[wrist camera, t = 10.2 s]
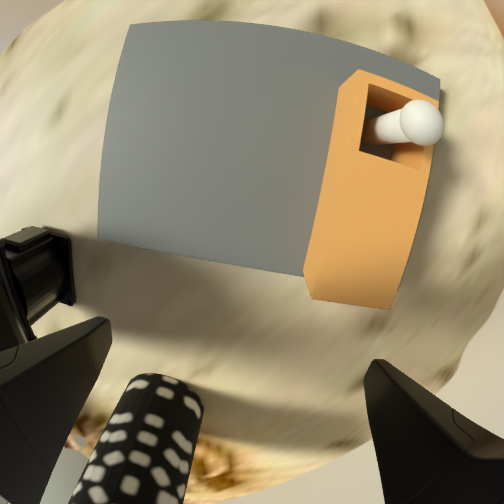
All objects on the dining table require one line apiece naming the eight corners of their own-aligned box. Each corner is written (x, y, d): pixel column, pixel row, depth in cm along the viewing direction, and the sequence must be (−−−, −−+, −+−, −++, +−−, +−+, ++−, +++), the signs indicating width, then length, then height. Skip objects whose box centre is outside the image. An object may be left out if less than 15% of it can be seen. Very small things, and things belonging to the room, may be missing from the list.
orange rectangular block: (368, 281, 18) (389, 309, 15) (302, 270, 18) (311, 299, 14) (406, 110, 15) (438, 101, 11) (338, 87, 14) (358, 69, 11)
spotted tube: (130, 360, 24) (37, 538, 5) (213, 391, 24) (171, 592, 5) (126, 407, 26) (63, 548, 7) (194, 433, 27) (159, 585, 8)
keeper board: (389, 283, 20) (447, 351, 11) (107, 234, 20) (30, 279, 11) (430, 83, 15) (508, 57, 6) (138, 31, 15) (74, -20, 6)
